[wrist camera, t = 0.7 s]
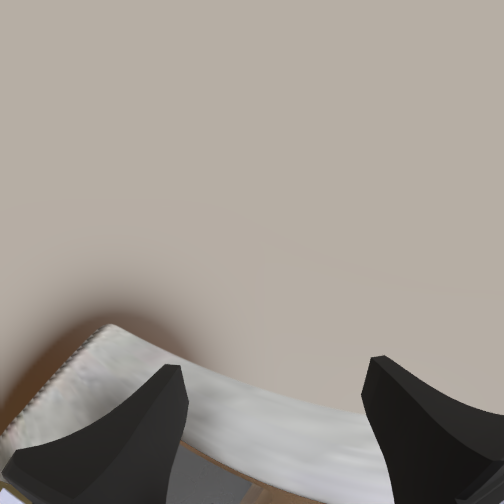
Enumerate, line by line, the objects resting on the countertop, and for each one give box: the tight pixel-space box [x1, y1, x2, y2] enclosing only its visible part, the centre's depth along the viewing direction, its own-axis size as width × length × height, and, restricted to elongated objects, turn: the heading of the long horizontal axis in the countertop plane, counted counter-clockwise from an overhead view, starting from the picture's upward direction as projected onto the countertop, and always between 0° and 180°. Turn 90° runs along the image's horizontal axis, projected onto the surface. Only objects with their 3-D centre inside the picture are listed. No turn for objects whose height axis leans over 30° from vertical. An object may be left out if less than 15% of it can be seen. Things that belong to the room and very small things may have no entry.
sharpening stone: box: [166, 440, 325, 504], centre depth 14 cm, size 10×22×7 cm, turn 62°
